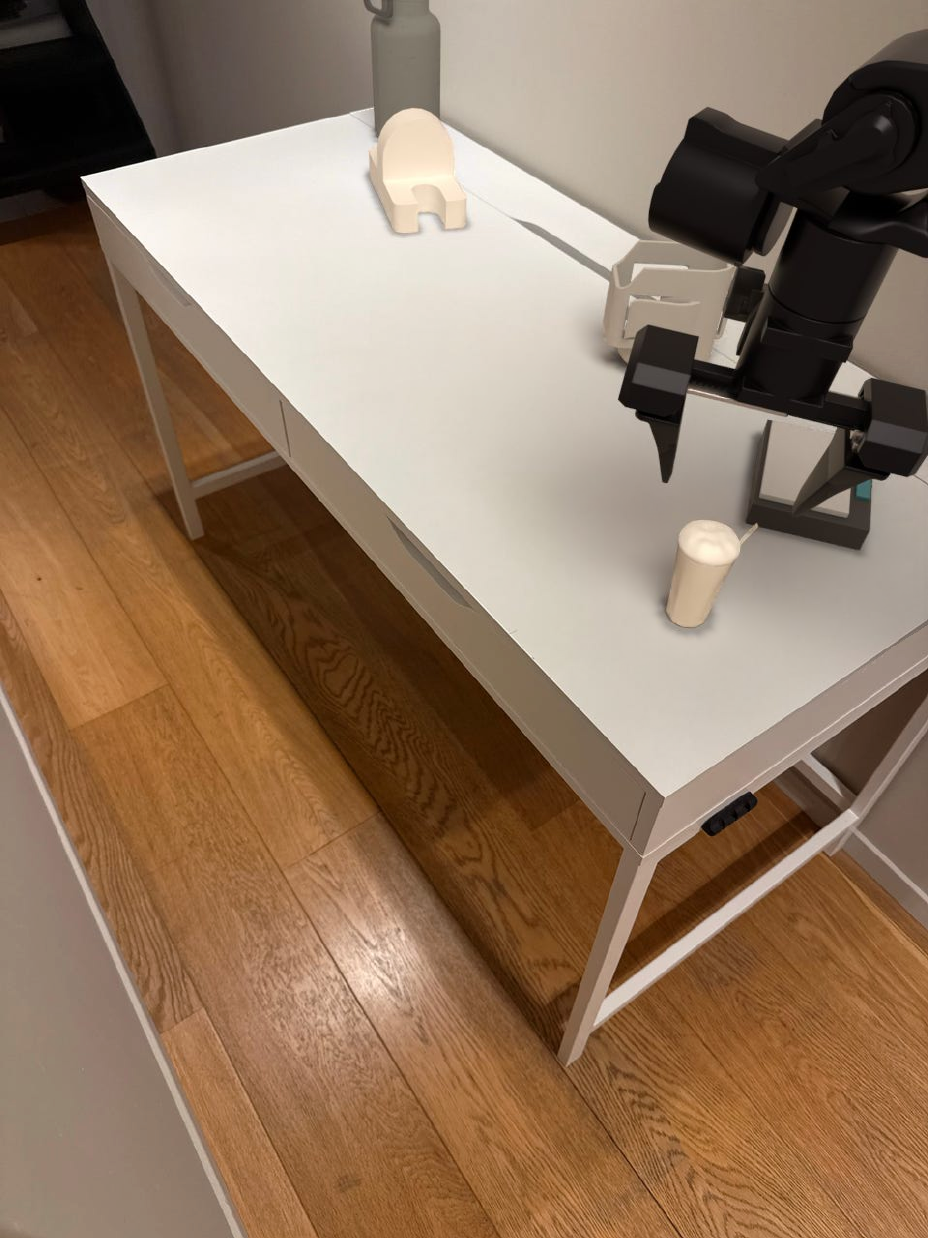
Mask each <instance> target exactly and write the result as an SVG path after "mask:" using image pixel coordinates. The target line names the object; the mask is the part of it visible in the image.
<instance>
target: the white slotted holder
mask: <svg viewBox="0 0 928 1238" xmlns="http://www.w3.org/2000/svg"><path fill="white" fill-rule="evenodd" d="M368 161H369V162H368V163H369V179H370V181H371V183H372V185H373V188H374V190H375V192H376V195H377V196H378V199H379V201H380V203H381V205H382V208H383V210H384V212H385V214H386V216H387V219H388V221H389V223H390V225H391V229H392V230H393V231H394V232H395V233H397V234H412V233H419V213H432V214H434V215H436V216H438V218H439V220H440V222H441V224H442V226H443V227H444V229H445V230H454V229H462V228H464V227H465V226H466V225H467V224H466V223H467V194H466V192H465V190H464V189H463V187H462V185H461V183H460V182H459V180H458V179H457V177H456V175H455V169H456V167H455V166H456V165H455V164H456V155H455V146H454V142H453V140H452V137H451V136H450V134H449V133H448V131H447V129H446V128H445V126H444V124H443V123H442V121H441V119H440V120H439V119H438V118H437V117H436V116H434V115H433V114H432V113H431V112H428V111H426V110H423V109H417V108H411V109H406V110H402V111H400V112H398V113H396V114H395V115H393V116H392V117H391V118H390V119H389V120H388V121H387V122H386V123H385V125H384V127H383V128H382V130H381V132H380V135H379V136H378V138H377V143H376V146H373V147H370V148H369V149H368Z"/></svg>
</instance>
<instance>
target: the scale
mask: <svg viewBox="0 0 928 1238" xmlns="http://www.w3.org/2000/svg"><path fill="white" fill-rule="evenodd" d="M834 434H835V433H832V432H829V431H824V430H819V429H815V428H810V427H805V426H800V425H796V424H791V423H786V422H782V421H776V420H772V419H766V423H765V424H764V428H763V430H762V434H761V437H760V439H759V440H760V441H759V445H758V451H757V456H756V461H755V468H754V472H753V478H752V479H753V480H752V484H751V489H750V496H749V502H748V506H747V513H746V517H745V524H747V525H750V526H754V525H755V524H756V523H757V524H758V528H764V529H766V530H771V531H775V532H780V533H784V534H789V535H792V536H797V537H802V538H806V539H811V540H813V541H819V542H822V543H826V544H831V545H835V546H839V547H843V548H848V549H853V550H855V551H861V549H862V547H863V545H864V543H865V541H866V540H867V538H868V535H869V534H870V531H871V517H872V516H871V513H872V512H871V511H872V489H873V479H870V480H868V481H865V482H863V483H861V484H859V485H856V486H854V487H852V488H850V489H847V490H845V491H843V492H841V493H839V494H837V495H835V496H833V497H831V498H829V499H828V500H826V501H824V502H823V503H821V504H819V505H817V506H816V507H814V508H812V509H811V510H809V511H807V512H806V513H804V514H802V515H801V516H799V517H795V516H792V508H793V505H794V502H795V500H796V498H797V496H798V494H799V492H800V490H801V488H802V486H803V485H804V483H805V482H806V480H807V478H808V477H809V475H810V474H811V472H812V471H813V469H814V468H815V466H816V465H817V463H818V461H819V460H820V458H821V457H822V455H823V454H824V452H825V451H826V449H827V447H828V446H829V444H830V443H831V441H832V439H833V437H834Z"/></svg>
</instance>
